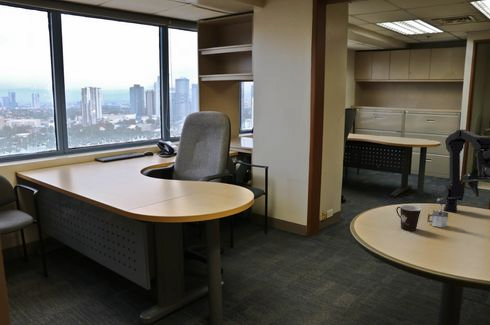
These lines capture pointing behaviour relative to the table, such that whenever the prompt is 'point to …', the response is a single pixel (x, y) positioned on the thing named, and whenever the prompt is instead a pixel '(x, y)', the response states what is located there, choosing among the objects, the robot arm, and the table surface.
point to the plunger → (441, 201)
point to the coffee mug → (409, 217)
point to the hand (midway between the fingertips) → (487, 197)
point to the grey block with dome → (438, 219)
